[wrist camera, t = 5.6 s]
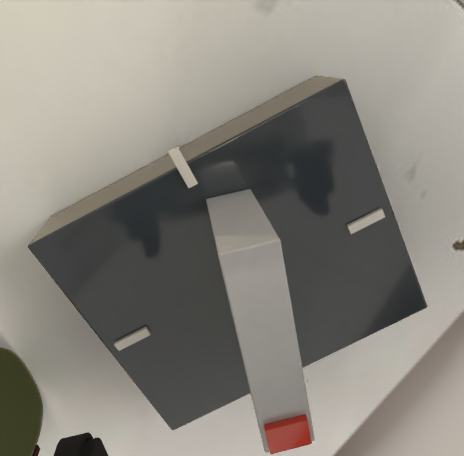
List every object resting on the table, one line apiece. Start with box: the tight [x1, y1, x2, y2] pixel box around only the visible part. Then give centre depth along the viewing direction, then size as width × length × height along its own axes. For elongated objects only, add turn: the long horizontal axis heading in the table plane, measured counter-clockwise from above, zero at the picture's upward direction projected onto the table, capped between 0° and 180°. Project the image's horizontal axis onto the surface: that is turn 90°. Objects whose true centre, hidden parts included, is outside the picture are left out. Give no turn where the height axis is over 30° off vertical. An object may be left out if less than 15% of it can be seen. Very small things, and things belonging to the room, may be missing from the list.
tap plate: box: [28, 76, 427, 430], centre depth 17 cm, size 12×11×3 cm
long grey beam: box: [206, 189, 314, 454], centre depth 14 cm, size 7×2×5 cm, turn 11°
